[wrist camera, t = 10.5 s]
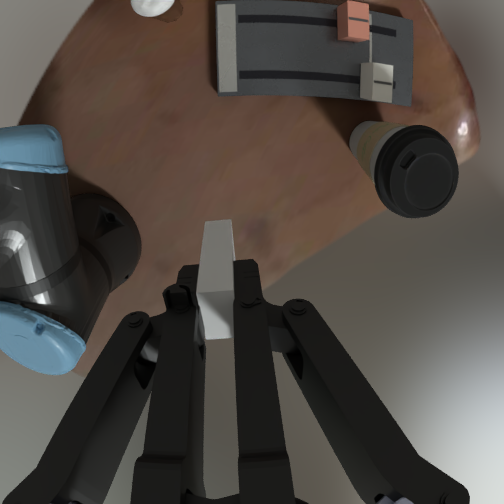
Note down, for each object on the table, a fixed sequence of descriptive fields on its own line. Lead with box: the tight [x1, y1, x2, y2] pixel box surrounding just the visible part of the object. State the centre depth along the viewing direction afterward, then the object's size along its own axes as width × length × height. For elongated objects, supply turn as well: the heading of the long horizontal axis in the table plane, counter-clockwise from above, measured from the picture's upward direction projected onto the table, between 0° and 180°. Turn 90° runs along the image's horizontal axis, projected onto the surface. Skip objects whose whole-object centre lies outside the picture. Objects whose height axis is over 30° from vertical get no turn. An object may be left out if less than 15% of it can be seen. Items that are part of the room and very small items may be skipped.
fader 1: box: [337, 0, 369, 42], centre depth 27 cm, size 2×4×4 cm, turn 1°
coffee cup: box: [349, 121, 459, 218], centre depth 32 cm, size 9×9×15 cm
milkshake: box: [131, 0, 183, 23], centre depth 25 cm, size 4×5×10 cm
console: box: [216, 0, 413, 107], centre depth 31 cm, size 24×12×2 cm, turn 91°
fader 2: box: [360, 62, 393, 103], centre depth 31 cm, size 2×4×4 cm, turn 1°
